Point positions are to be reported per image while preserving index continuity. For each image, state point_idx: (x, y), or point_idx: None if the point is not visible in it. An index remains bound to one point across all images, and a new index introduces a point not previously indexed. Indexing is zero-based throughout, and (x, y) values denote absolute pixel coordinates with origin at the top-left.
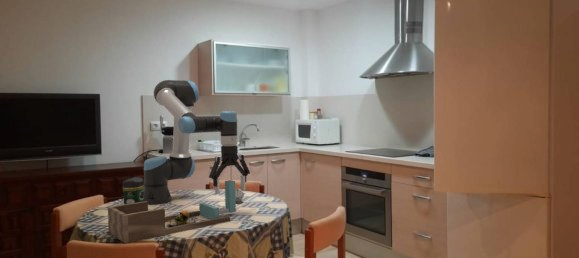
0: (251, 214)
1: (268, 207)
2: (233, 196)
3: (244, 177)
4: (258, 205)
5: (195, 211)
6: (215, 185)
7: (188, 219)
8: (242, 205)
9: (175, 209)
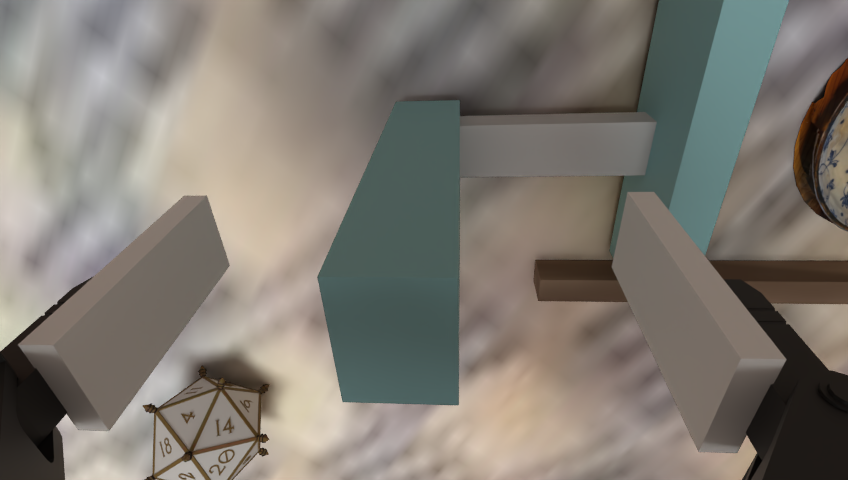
0: (267, 11)
1: (46, 138)
2: (400, 158)
3: (56, 323)
4: (113, 244)
5: None
6: (749, 293)
7: (826, 177)
8: (225, 313)
9: (618, 462)
